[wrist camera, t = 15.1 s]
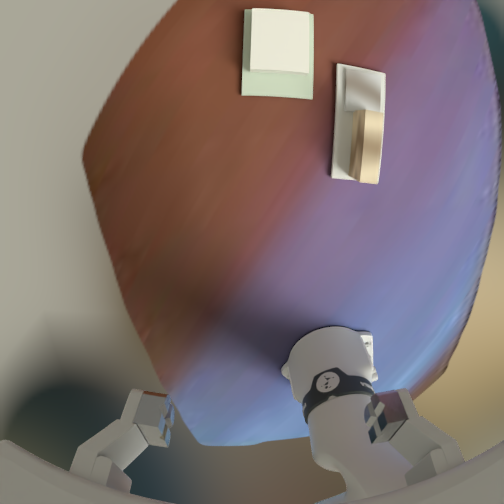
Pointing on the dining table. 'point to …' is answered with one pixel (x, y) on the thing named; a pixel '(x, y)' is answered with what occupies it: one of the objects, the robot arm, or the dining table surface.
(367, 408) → the robot arm
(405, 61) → the dining table surface
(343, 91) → the pad
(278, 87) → the mat
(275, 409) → the dining table surface
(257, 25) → the tile
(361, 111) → the turner
